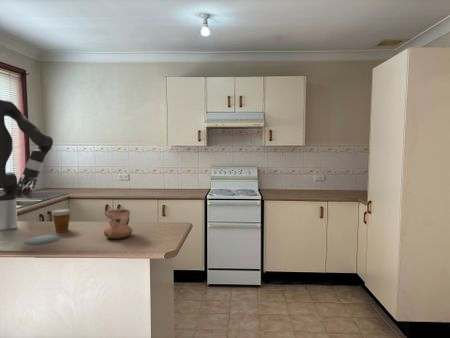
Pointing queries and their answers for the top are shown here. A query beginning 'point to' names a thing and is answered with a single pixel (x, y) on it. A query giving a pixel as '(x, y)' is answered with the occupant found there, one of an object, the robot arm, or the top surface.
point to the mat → (42, 239)
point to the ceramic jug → (118, 224)
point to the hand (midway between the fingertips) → (22, 195)
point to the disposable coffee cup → (61, 219)
